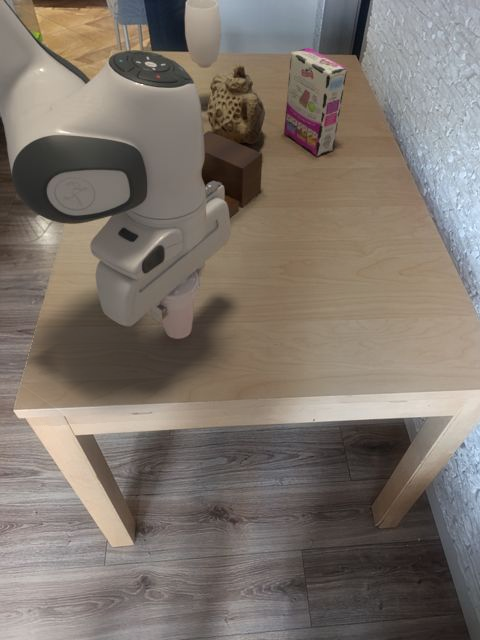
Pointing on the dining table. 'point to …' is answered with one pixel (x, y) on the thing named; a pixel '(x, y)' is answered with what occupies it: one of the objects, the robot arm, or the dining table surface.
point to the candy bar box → (314, 100)
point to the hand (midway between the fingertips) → (175, 302)
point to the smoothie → (180, 308)
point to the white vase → (203, 31)
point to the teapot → (235, 107)
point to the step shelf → (232, 169)
